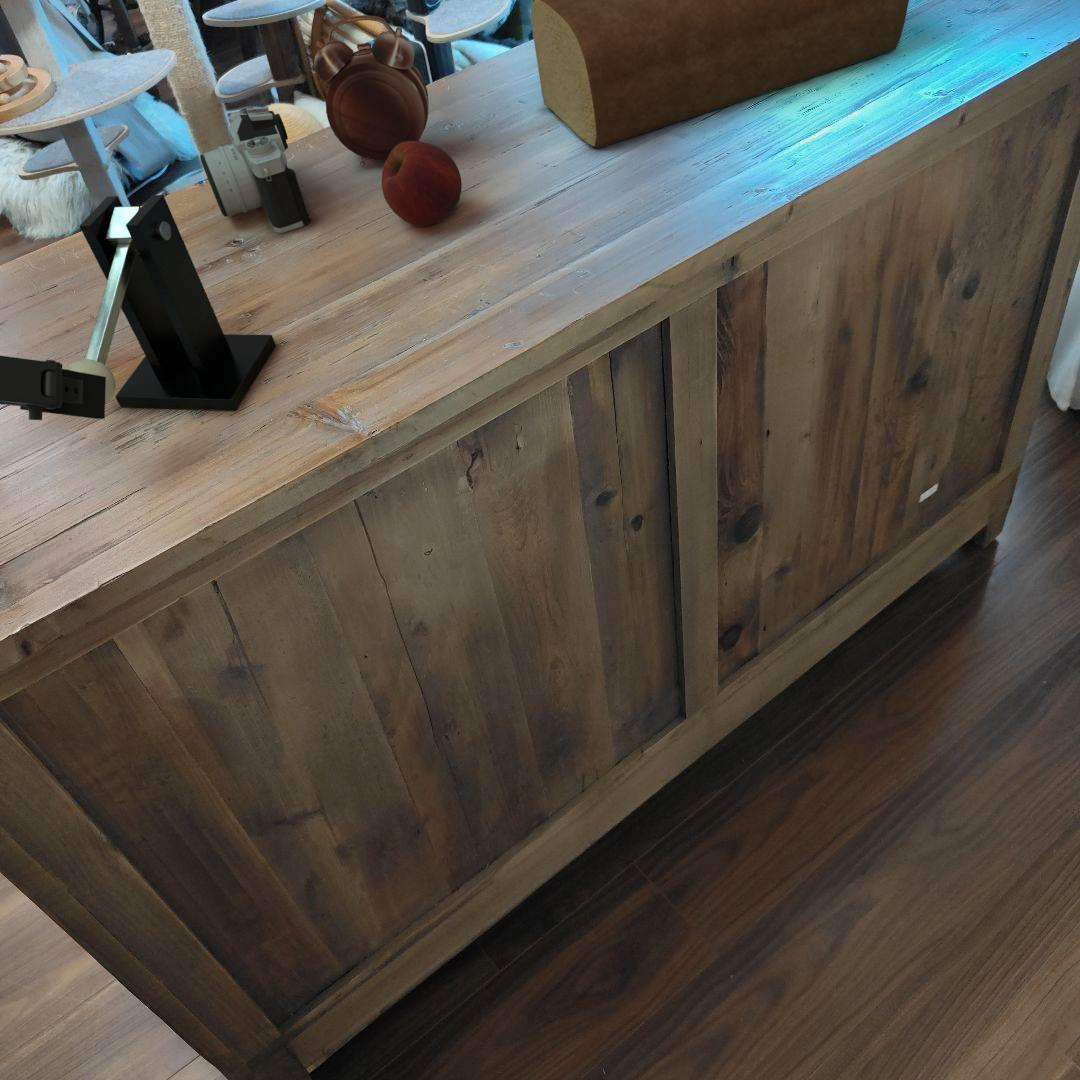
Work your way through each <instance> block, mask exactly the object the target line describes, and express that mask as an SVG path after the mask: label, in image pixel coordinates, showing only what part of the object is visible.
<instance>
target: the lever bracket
mask: <svg viewBox="0 0 1080 1080" xmlns="http://www.w3.org/2000/svg"><path fill="white" fill-rule="evenodd" d="M115 207H124V206H123V204H122V202H121V200H120V198H119V196H118V195H114V196H113V195H112V196H111V195H110V196H109V195H108V196H105V198H103V200H102V201H101V202H100V203H99V204H98V205H97V206H96V207H95V209H93V211H92V212H90V214H89V215H88V216H87V217H86V218H85V219H84V220H83V221H82V222H81V223H80V224H79V228H80V231H81V233H82V234H83V236H84V239H85V241H86V242H87V244H88V246H89V248H90V250H91V252H92V255H93V256H94V259H95V260H96V263H97V264H98V266H99V268H100V269H101V272H102V274H103V275H104V277H105V280H106V281H107V280H108V276H109V273H110V269H111V266H112V262H113V259H114V255H115V251H116V248H115V247H114V246H113V245H112V244H111V243H110V242H109V241H108V240H107V239H106V235H107V232H108V228H109V225H110V222H111V218H112V215H113V211H114V208H115ZM140 207H141V208H140V210H139V211H138V212H137V213H136V214H135V215H134V216H133V217H132V219H131V220H130V221H129V222H128V223H127V224H126V227H127V229H128V231H129V233H130V235H131V237H132V240H133V242H134V244H135V246H136V248H137V250H138V252H139V254H140V256H135V259H134V263H133V266H132V270H131V273H130V277H129V281H128V284H127V288H126V292H125V295H124V299H123V302H122V306H121V310H122V312H123V315H124V316H125V318H126V321H127V322H128V324H129V326H130V329H131V330H132V332H133V334H134V336H135V338H136V340H137V342H138V344H139V346H140V347H141V348H140V349H141V350H142V352H143V354H144V357H143V358H142V360H141V361H140V362H139V364H138V365H137V366H136V368H135V369H134V370H133V372H132V373H131V374H130V376H129V377H128V379H127V380H126V381H125V382H124V384H123V385H122V386H121V388H120V389H119V390H118V392H117V393H116V395H115V396H114V398H115V399H116V401H117V403H118V405H119V407H120V408H131V409H132V408H133V409H165V410H198V411H226V412H227V411H232V412H233V411H234V412H235V411H237V410H238V408H239V407H240V405H241V404H242V402H243V401H244V399H245V397H246V395H247V394H248V392H249V390H250V389H251V387H252V386H253V384H254V383H255V381H256V379H257V378H258V376H259V375H260V372H261V371H262V369H263V368H264V367H265V365H266V363H267V361H268V360H269V358H270V356H271V355H272V353H273V351H274V350H275V349H276V347H277V345H276V342H275V339H274V337H273V335H272V334H232V333H231V334H226V333H224V331H223V328H222V326H221V324H220V321H219V320H218V317H217V314H216V312H215V311H214V307H213V306H212V304H211V301H210V299H209V296H208V294H207V292H206V290H205V287H204V285H203V283H202V281H201V278H200V276H199V273H198V271H197V269H196V267H195V265H194V262H193V260H192V257H191V256H190V253H189V251H188V248H187V246H186V244H185V242H184V239H183V237H182V235H181V232H180V230H179V228H178V225H177V223H176V221H175V218H174V216H173V213H172V212H171V209H170V207H169V204H168V202H167V200H166V198H165V196H164V194H153V195H152V194H151V196H149V198H148V199H147V200H146V202H145V203H144V204H143V205H142V206H140Z"/></svg>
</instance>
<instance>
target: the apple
mask: <svg viewBox="0 0 1080 1080" xmlns="http://www.w3.org/2000/svg"><path fill="white" fill-rule="evenodd" d="M419 141H420V140H419ZM419 141H405V142H402V143H400V144H398V145H396V146H395V147H394V148H393V149H392V151H391V152H390V154H389V156H388V158H387V160H386V161H384V164H383V168H382V172H381V191H382V195H383V197H384V200H385V202H386V204H387V205H388V207H389V208H390V210H392V212H393V213H394V214H395V215H396V216H397V217H399V218H400V220H402V221H404V222H405V223H407V224H410V225H412V226H415V227H429V226H433V225H436V224H438V223H440V222H442V221H443V220H445V219H446V218H447V217H449V216H450V214H452V213H453V211H454V210H455V209H456V207H457V205H458V204H459V201H460V198H461V195H462V189H463V188H462V187H463V183H462V177H461V173H460V170H459V167H458V166H457V163H456V162H455V161H454V159H453V158H452V157H451V156H450V155H449V154H448V153H447V152H446V151H444V150H443V149H441V148H440V147H438V146H436V145H434V144H431V143H428V142H424V141H420V142H419Z"/></svg>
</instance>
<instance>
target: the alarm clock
mask: <svg viewBox="0 0 1080 1080" xmlns="http://www.w3.org/2000/svg"><path fill="white" fill-rule="evenodd" d="M360 21H371V22H373V21H374V22H378V23H380V24H382V25H383V26H384V27H385V28H386V30H385V31H382V32H380V33H379V34H378V35H377V36H376V38H375V39H374V42H373V43H372V44H371V43H370V42H366V43H358V44H357V45H356V49H357V50H356V51H354V49H352V48H351V47H350V46H349V45H348V44H346V43H345V42H344V41H342V40H337V39H335V40H331V39H332V34H333V31H334V30H335V29H336V28H338V27H340V26H343V25H345V24H348V23H352V22H360ZM315 46H316V48H317V53H316V54H315V57H314V61H313V62H314V63H313V66H314V70H315V72H316V74H317V76H318V77H319V78H320V80H321V81H322V82H323V83H326V82H328V81H330V82H329V84H328V88H327V94H326V99H325V114H326V117H327V121H328V124H329V127H330V128H331V130H332V132H333V134H334V136H335V137H336V138H337V140H338V141H339V143H341V144H342V145H343V146H344V147H345V148H347V149H348V150H349V151H351V152H352V153H354V154H355V155H356V156H359V157H362V158H361V161H360V163H359V164H360V166H362V167H363V166H365V165H366V164H365V162H366V160H372V161H376V162H377V161H378V162H386V160H387V158H388V156H389V154H390V152H391V151H392V149H393V148H394V147H395V146H396V145H398V144H400V143H402V142H405V141H419V142H421V140H420V139H421V138H422V135H423V133H424V132H425V129H426V127H427V124H428V119H429V109H430V107H429V105H430V103H429V102H430V101H429V93H428V88H427V85H426V82H425V80H424V78H423V76H422V74H421V73H420V71H419V70H418V69H417V67H416V66H415V65H414V63H415V47H414V45H413V43H412V41H411V40H410V39H409V37H407V36H406V35H404V34H403V28H402V27H401V26H397V27H396V28H395V29H393V27H392V26H391V25H390V24H389V23H388V22H387V20H386V19H385V18H382V16H376V15H365V14H362V15H354V16H348V17H345V18H342V19H340V20H338V21H336V22H333V23H332V24H331V25H330V27H329V28H328V33H327V37H326V41H325V42H324V43H323V42H322V41H321V40H316V41H315Z"/></svg>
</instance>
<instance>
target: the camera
mask: <svg viewBox="0 0 1080 1080" xmlns="http://www.w3.org/2000/svg"><path fill="white" fill-rule="evenodd" d="M228 121H229V126H228V128H227V130H228V135H229V137H230V139H231V141H232V143H229V144H227V145H220V146H219V145H218V146H217V149H214V150H211V151H207V152H204V153H202V154H200V155H199V158H200V162H201V165H202V168H203V170H204V173H205V175H206V178H207V180H208V183H209V185H210V188H211V190H212V193H213V195H214V198H215V201H216V203H217V205H218V207H219V210H220V213H221V214H222V216H223V217H225V218H227V217H230V216H233V215H237V214H240V213H243V214H247V213H248V212H249V211H252V210H255V209H259V208H262V209H263V211H264V214H265V215H266V218H267V219H268V221H269V224H270V226H271V227H272V229H273V231H274V232H275V233H278V234H284V233H287V232H291V231H293V230H296V229H300V228H302V227H305V226H306V225H307V226H308V225H309V224H310V222H311V218H310V213H309V212H308V210H307V209H308V208H307V206H306V203H305V200H304V197H303V194H302V192H301V188H300V185H299V182H298V178H297V174H296V172H295V170H294V169H292V168H290V167H288V165H287V164H288V161H287V160H288V159H287V156H286V153H285V152H286V150H287V149H289V145H288V141H287V140H289V137H288V133H287V130H286V127H285V124H284V121H283V119H282V116H281V114H280V113H275V111H273V110H269V107H268V106H262V107H261V106H260V107H255V106H246V107H243V108H241V109H239V110H237V111H235V112H232V113H230V114H229V117H228Z"/></svg>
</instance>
